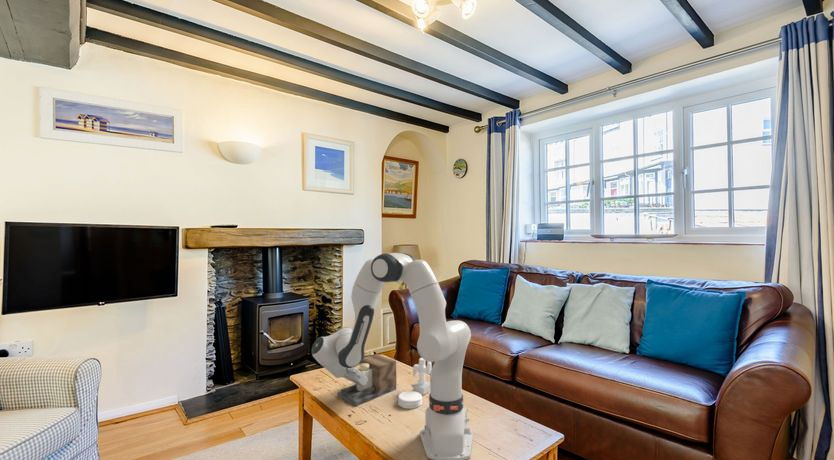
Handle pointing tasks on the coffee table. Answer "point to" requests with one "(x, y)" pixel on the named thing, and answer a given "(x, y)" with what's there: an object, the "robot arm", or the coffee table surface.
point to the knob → (368, 373)
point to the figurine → (421, 377)
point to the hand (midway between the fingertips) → (358, 382)
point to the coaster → (410, 399)
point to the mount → (373, 381)
